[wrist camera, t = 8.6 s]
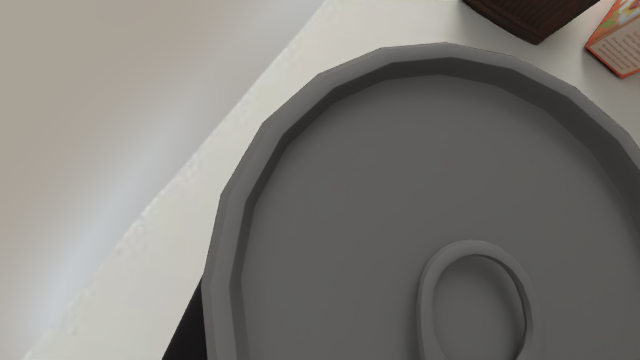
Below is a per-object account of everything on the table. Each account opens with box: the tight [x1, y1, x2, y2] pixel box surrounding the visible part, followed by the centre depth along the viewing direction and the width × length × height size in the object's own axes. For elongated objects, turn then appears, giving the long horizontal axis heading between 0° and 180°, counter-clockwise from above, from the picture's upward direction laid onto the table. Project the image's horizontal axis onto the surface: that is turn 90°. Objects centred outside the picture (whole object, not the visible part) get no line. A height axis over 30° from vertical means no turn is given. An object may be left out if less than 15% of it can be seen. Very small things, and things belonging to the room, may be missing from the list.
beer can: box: [201, 42, 640, 360], centre depth 8 cm, size 7×7×12 cm
